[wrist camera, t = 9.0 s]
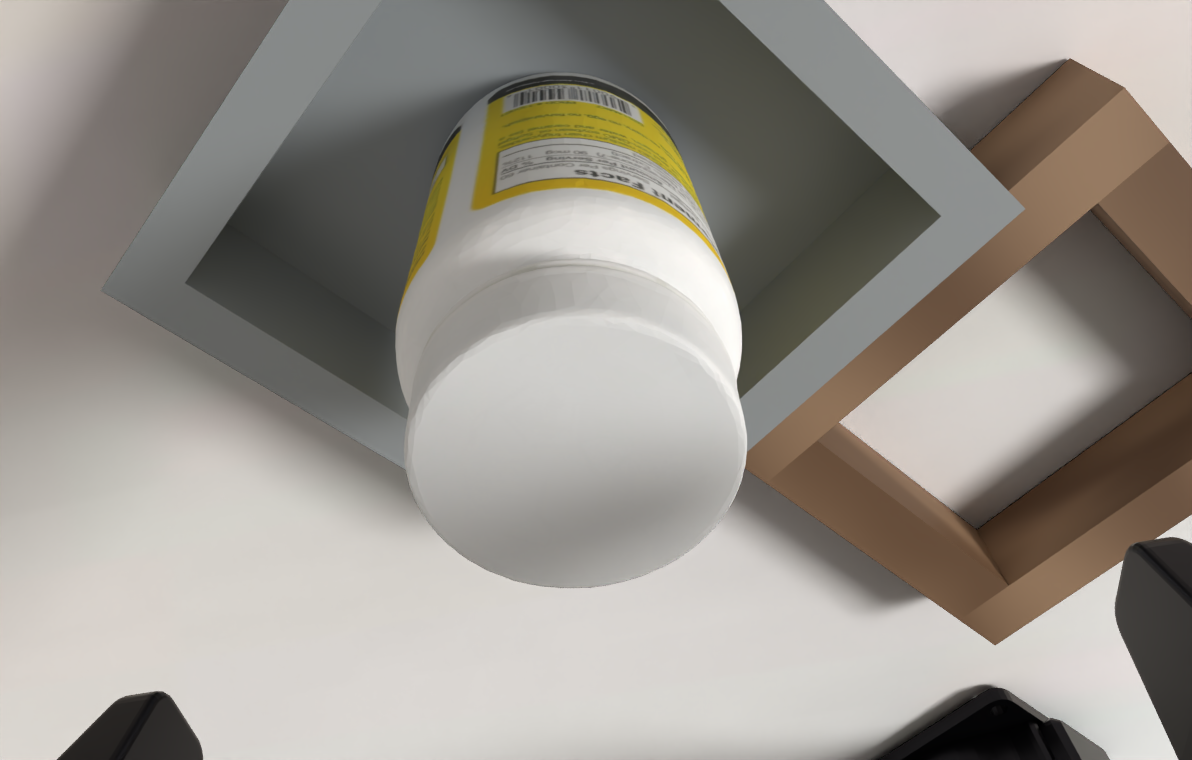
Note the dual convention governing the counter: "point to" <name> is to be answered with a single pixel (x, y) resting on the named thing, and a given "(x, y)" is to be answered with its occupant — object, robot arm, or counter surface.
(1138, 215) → the holder ring
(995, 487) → the counter surface
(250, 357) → the tray
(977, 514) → the counter surface
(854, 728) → the counter surface
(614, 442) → the supplement bottle
